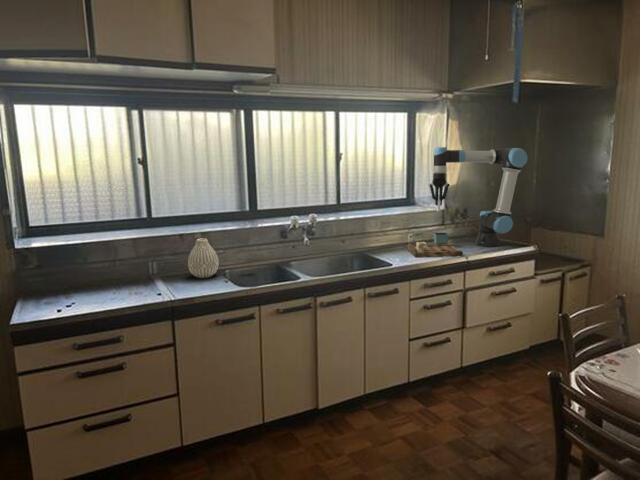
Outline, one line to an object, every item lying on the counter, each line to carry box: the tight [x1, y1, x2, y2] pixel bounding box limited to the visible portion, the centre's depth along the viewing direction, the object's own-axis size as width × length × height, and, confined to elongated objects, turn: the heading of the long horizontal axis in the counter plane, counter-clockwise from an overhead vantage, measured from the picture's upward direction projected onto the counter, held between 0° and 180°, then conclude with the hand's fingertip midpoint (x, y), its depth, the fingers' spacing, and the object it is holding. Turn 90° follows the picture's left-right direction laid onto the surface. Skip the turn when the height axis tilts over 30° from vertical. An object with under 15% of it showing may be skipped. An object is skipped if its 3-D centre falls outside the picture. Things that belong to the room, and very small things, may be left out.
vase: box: [187, 237, 220, 279], centre depth 258 cm, size 16×16×20 cm
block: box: [415, 241, 428, 252], centre depth 301 cm, size 5×5×5 cm
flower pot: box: [433, 232, 450, 245], centre depth 324 cm, size 9×9×9 cm
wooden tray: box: [407, 243, 463, 258], centre depth 305 cm, size 29×20×5 cm
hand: (438, 210), depth 304 cm, fingers closed
